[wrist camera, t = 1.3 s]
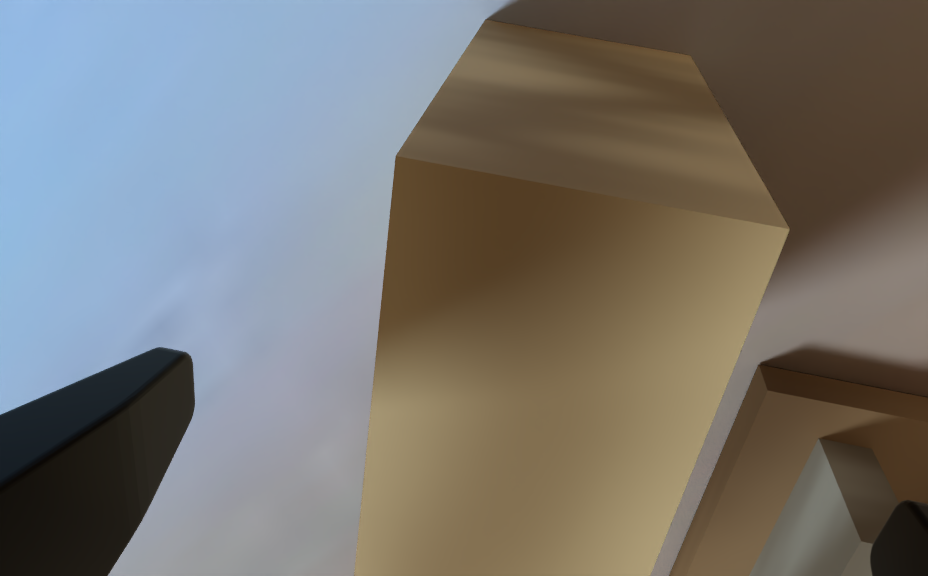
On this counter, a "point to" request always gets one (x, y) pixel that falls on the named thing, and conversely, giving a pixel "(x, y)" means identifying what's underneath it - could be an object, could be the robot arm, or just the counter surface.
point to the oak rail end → (556, 309)
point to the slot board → (807, 478)
